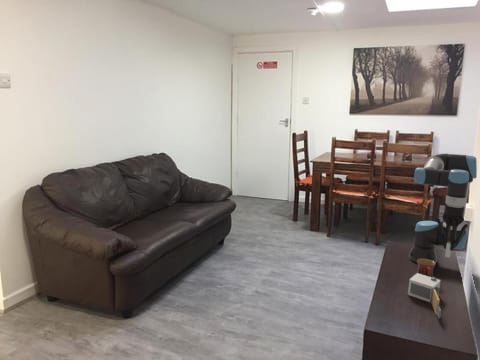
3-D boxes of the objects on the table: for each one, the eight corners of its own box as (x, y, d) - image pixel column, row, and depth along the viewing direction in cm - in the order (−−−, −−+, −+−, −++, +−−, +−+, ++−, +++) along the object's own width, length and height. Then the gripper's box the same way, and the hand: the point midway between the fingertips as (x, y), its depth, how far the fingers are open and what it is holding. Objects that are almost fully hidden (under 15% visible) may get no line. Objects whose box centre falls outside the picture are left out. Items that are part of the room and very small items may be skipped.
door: (436, 320, 169) (438, 304, 167) (429, 302, 184) (431, 287, 183) (439, 321, 168) (442, 305, 167) (433, 302, 184) (435, 287, 182)
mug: (413, 275, 213) (415, 257, 211) (430, 277, 211) (433, 259, 209) (418, 285, 201) (420, 266, 199) (437, 287, 200) (439, 268, 197)
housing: (415, 287, 199) (417, 271, 197) (441, 296, 191) (443, 279, 189) (407, 294, 192) (409, 277, 190) (434, 303, 183) (436, 286, 182)
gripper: (436, 204, 173) (429, 254, 178) (469, 210, 165) (461, 263, 170) (441, 201, 179) (435, 250, 184) (473, 206, 170) (466, 258, 175)
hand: (447, 256), depth 177 cm, fingers closed
